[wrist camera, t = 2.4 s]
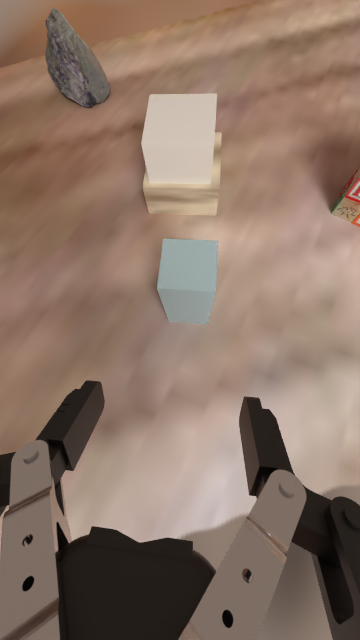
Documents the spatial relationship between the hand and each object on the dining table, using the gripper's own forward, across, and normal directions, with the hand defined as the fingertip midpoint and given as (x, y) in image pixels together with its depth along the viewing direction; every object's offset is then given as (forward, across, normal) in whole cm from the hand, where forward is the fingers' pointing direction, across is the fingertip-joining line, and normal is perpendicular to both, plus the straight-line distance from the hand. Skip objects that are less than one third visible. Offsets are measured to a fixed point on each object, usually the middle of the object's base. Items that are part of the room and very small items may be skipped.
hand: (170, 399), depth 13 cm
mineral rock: (+48, +24, -28) cm, 61 cm away
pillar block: (+18, 0, +2) cm, 18 cm away
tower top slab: (+28, +2, -14) cm, 32 cm away
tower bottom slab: (+32, +2, -11) cm, 34 cm away
